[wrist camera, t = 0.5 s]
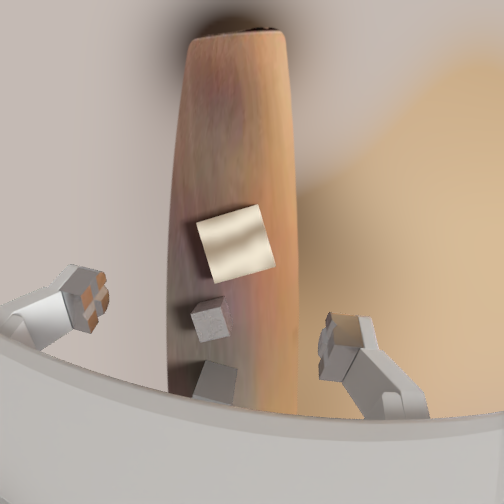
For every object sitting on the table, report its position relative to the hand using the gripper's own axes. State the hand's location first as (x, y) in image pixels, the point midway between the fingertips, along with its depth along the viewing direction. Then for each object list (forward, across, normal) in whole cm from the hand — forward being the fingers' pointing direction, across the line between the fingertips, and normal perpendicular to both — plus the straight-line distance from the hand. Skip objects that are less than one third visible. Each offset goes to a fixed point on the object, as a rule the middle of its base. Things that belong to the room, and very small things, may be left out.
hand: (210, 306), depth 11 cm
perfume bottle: (+32, -4, -49) cm, 59 cm away
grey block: (+38, -6, -36) cm, 52 cm away
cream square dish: (+44, -4, -23) cm, 50 cm away
